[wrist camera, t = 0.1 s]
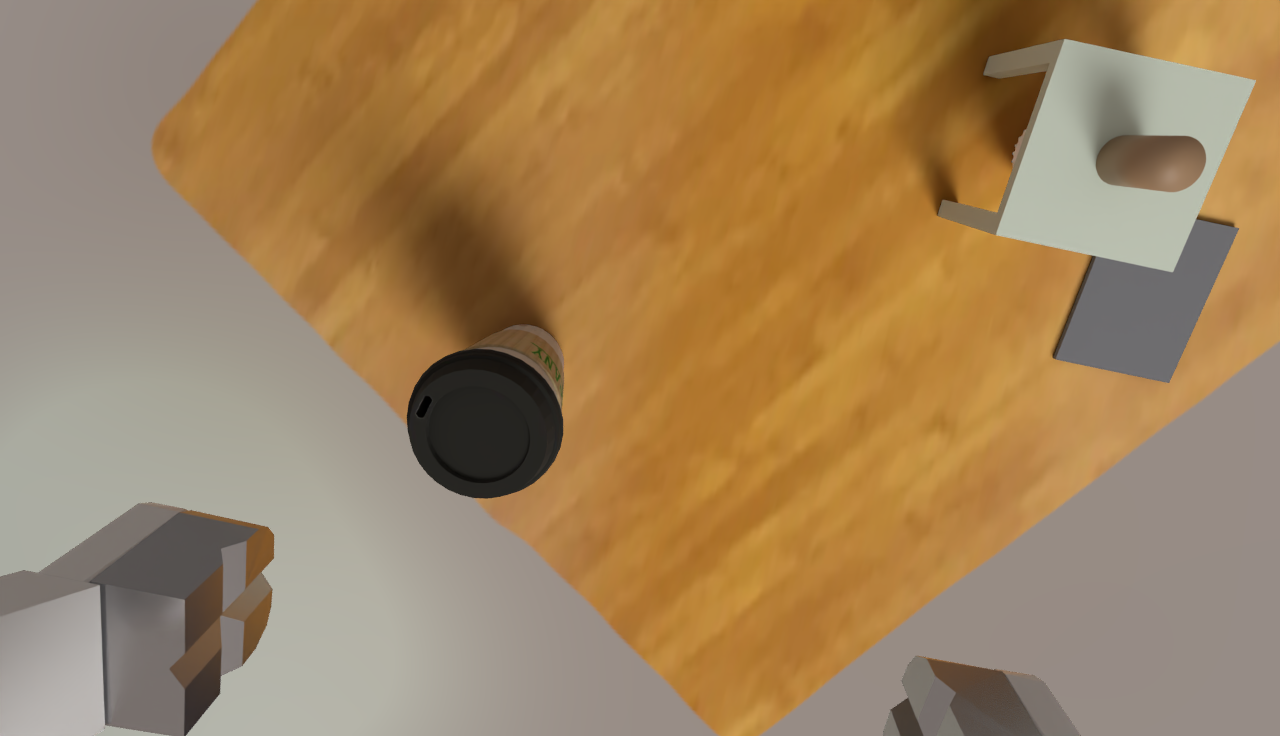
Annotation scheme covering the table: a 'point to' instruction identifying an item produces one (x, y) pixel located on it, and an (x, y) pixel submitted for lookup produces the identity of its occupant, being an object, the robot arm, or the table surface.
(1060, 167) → the cover
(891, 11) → the table surface
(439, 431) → the coffee cup
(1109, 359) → the mat
